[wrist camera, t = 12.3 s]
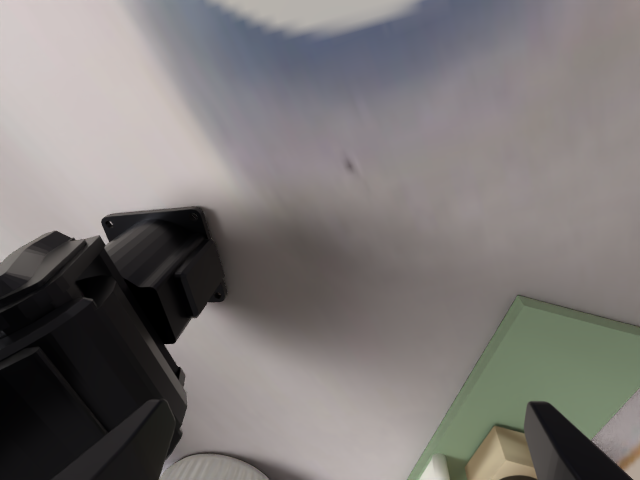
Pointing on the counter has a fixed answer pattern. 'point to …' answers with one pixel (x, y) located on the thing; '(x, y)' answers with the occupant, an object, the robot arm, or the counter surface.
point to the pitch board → (539, 378)
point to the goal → (436, 469)
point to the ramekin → (212, 469)
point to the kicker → (502, 457)
